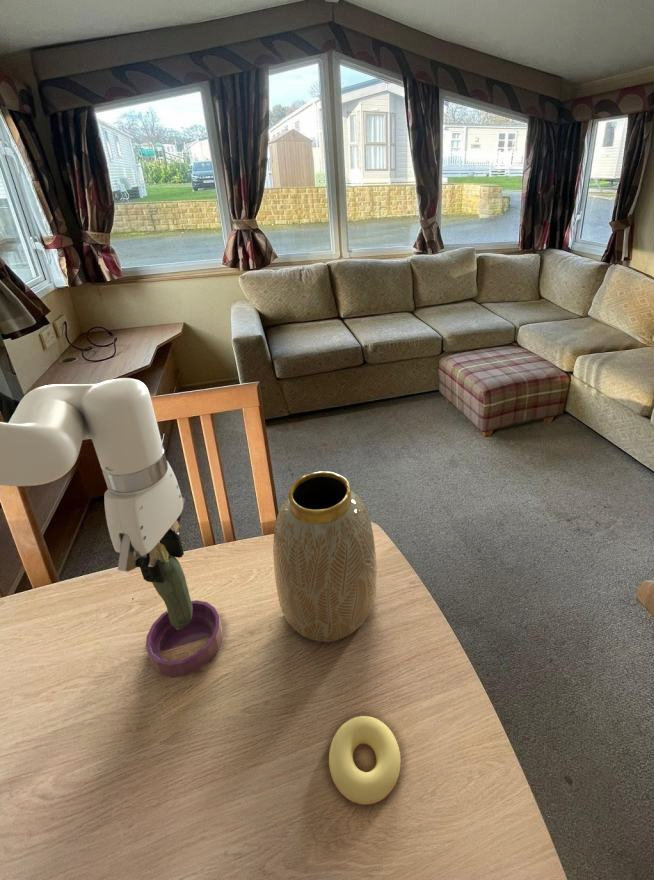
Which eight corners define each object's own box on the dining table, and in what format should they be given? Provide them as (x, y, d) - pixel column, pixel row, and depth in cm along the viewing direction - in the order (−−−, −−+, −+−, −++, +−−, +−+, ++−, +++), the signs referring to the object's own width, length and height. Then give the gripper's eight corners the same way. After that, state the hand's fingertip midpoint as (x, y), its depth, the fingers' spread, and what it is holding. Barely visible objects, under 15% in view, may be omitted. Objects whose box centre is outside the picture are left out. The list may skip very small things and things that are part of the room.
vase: (350, 556, 98) (344, 446, 86) (395, 622, 84) (395, 503, 73) (267, 594, 90) (248, 479, 78) (303, 674, 76) (287, 549, 65)
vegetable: (203, 619, 80) (178, 532, 71) (190, 644, 77) (161, 555, 67) (179, 615, 81) (151, 528, 72) (164, 640, 77) (133, 551, 68)
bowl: (149, 693, 74) (142, 675, 72) (155, 628, 84) (149, 611, 82) (225, 669, 77) (220, 651, 75) (222, 609, 87) (218, 592, 85)
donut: (377, 724, 72) (318, 752, 67) (379, 699, 71) (318, 726, 66) (412, 790, 63) (347, 827, 59) (414, 763, 62) (348, 798, 58)
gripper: (149, 431, 72) (174, 524, 80) (63, 508, 58) (103, 612, 66) (195, 436, 71) (215, 530, 79) (118, 516, 56) (153, 621, 64)
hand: (164, 566), depth 72 cm, fingers closed on vegetable, 4 cm apart
